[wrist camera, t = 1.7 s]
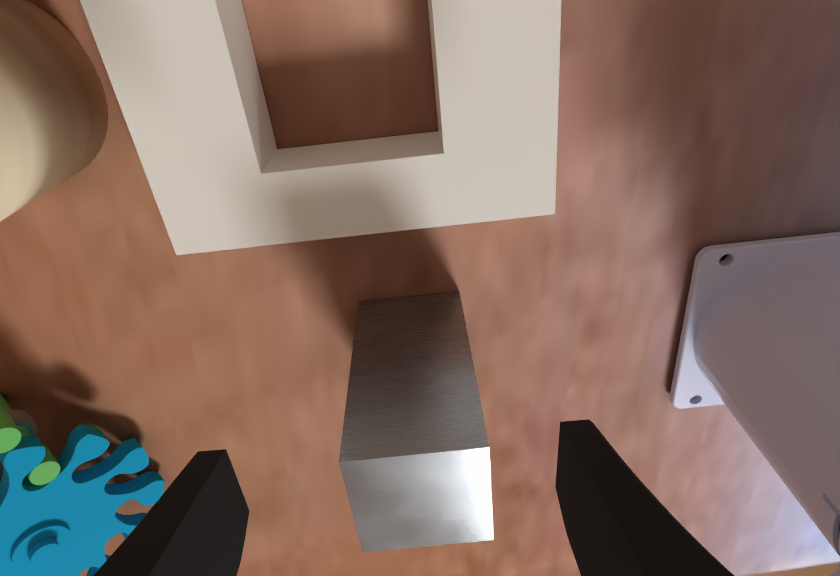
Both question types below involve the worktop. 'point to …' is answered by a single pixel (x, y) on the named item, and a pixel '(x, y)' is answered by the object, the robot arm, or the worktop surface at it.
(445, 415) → the square peg
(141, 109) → the socket block
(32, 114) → the round peg
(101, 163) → the worktop surface
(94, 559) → the gear
